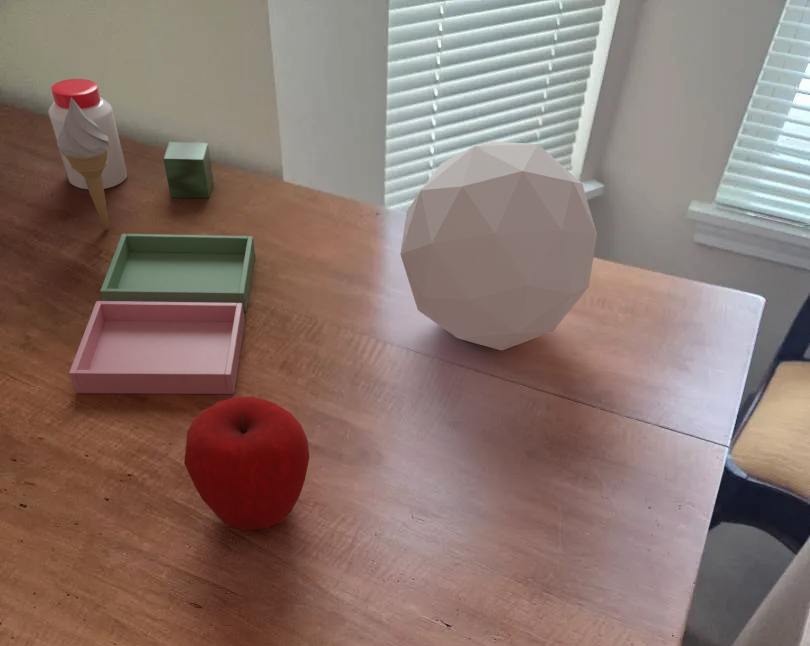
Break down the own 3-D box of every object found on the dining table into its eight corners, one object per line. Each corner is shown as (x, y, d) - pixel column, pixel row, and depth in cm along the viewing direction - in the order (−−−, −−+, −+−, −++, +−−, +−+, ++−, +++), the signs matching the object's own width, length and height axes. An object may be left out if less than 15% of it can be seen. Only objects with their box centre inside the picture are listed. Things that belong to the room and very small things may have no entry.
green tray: (105, 310, 82) (99, 291, 80) (126, 252, 90) (121, 233, 88) (246, 312, 83) (243, 293, 81) (255, 254, 91) (253, 235, 89)
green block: (170, 197, 99) (163, 158, 95) (176, 180, 102) (169, 141, 98) (209, 198, 99) (203, 159, 95) (213, 181, 102) (207, 142, 98)
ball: (448, 355, 91) (437, 176, 86) (617, 341, 82) (615, 142, 77) (374, 360, 74) (356, 139, 70) (575, 343, 66) (570, 90, 61)
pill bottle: (78, 194, 98) (52, 103, 90) (60, 170, 102) (33, 81, 94) (136, 182, 101) (115, 92, 93) (115, 159, 105) (94, 71, 97)
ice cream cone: (93, 245, 90) (54, 110, 79) (76, 225, 93) (36, 92, 82) (137, 232, 93) (106, 100, 81) (119, 213, 95) (86, 83, 84)
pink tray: (75, 393, 73) (68, 373, 71) (102, 320, 81) (96, 300, 79) (234, 394, 74) (230, 374, 72) (244, 322, 82) (242, 302, 80)
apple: (332, 529, 63) (328, 432, 55) (224, 570, 60) (202, 474, 52) (284, 456, 69) (274, 358, 60) (183, 491, 65) (157, 392, 57)
